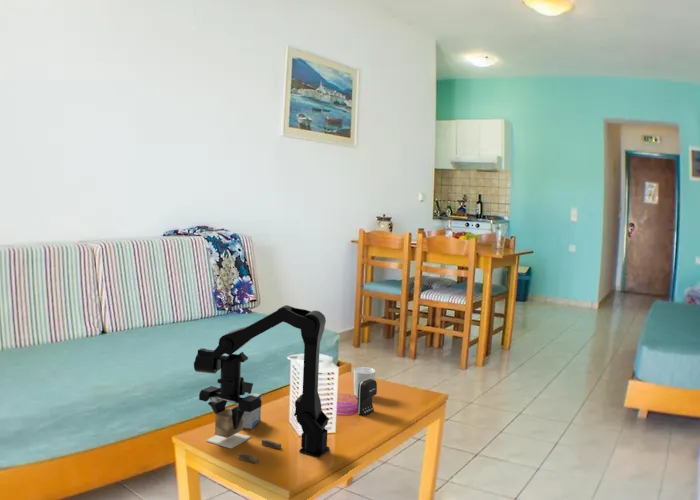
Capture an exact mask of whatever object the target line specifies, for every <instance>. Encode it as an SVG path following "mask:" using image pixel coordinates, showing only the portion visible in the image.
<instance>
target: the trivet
mask: <svg viewBox="0 0 700 500" xmlns="http://www.w3.org/2000/svg"><path fill="white" fill-rule="evenodd" d="M250 438H251V436H250V435H246V434H242V433H239V432H238V433H236V434H234V435H232V436H230V437H229V438H225V437H222V436H218V435H215V434H214V435H213V436H211V437H210V438H208V439H206V440H205V441H206V442H207V443H210V444H213V445H217V446H221V447H224V448H228V449H233V448H235V447H237V446H238V445H240V444H242V443H244V442H245V441H247V440H249V439H250Z"/></svg>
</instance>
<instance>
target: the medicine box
mask: <svg viewBox="0 0 700 500" xmlns="http://www.w3.org/2000/svg"><path fill="white" fill-rule="evenodd" d="M249 395H252V396H256V397H260V399H261V400H262V394H261V393H254V392H251V394H249V393H247V394H245V395H244V396H243V398H245V397H247V396H249ZM261 410H262V406H261V407H259V408H257V409H255V410H253V411H252V412H246V411H245V412H244V414H243V429H247V430H249V429H250V430H252V429H254V427H255V426H256V425H257V424H258V423H259V422H260V421H261V415H262V411H261Z"/></svg>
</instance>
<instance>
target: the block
mask: <svg viewBox="0 0 700 500" xmlns="http://www.w3.org/2000/svg"><path fill="white" fill-rule="evenodd" d="M233 408H234V407H228V408H225V410H224V411H222V412H220V413H218V414H215V413H214V414H215V416H214V417H215V421H214V422H215V424H214V425H215V427H214V436H215V435H218V436H222V437H225V438H229V437H230V436H232V435H234V434H236V433H239V432H241V431H243V429H244V428H243V416H242V418H241V421H240V423H239V426H238V428H237V429H234V426H233V418H232V409H233Z"/></svg>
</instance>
